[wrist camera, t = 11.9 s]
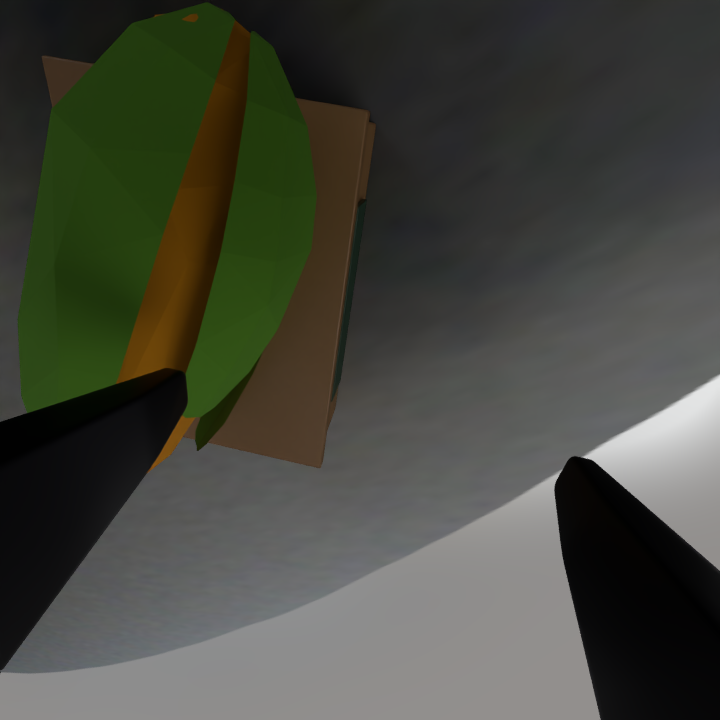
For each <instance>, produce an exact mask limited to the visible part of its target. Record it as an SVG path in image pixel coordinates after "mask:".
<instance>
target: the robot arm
mask: <svg viewBox="0 0 720 720" xmlns="http://www.w3.org/2000/svg"><path fill="white" fill-rule="evenodd" d="M187 404H188V392H187V381H186V375H185V373H184V372H183V371H181V370H176V369H172V368H164V369H161V370H158V371H154V372H151V373H148V374H145V375H142V376H139V377H136V378H133V379H130V380H127V381H124V382H121V383H118V384H115V385H112V386H109V387H106V388H103V389H99V390H96V391H93V392H90V393H87V394H84V395H81V396H78V397H75V398H72V399H69V400H66V401H63V402H60V403H57V404H54V405H51V406H48V407H44V408H41V409H38V410H35V411H32V412H29V413H26V414H23V415H20V416H17V417H14V418H11V419H8V420H5V421H2V422H0V670H2V669H3V668H4V667H5V666H6V664H7V663H8V662H9V660H10V659H11V658H12V656H13V655H14V654H15V652H16V651H17V649H18V648H19V647H20V645H21V644H22V643H23V641H24V640H25V639H26V637H27V636H28V634H29V633H30V632H31V630H32V629H33V628H34V626H35V625H36V624H37V622H38V621H39V619H40V618H41V617H42V615H43V614H44V613H45V611H46V610H47V609H48V607H49V606H50V604H51V603H52V602H53V600H54V599H55V598H56V596H57V595H58V594H59V592H60V591H61V589H62V588H63V587H64V585H65V584H66V583H67V581H68V580H69V579H70V577H71V576H72V574H73V573H74V572H75V570H76V569H77V568H78V566H79V565H80V564H81V562H82V561H83V560H84V558H85V557H86V555H87V554H88V553H89V551H90V550H91V549H92V547H93V546H94V545H95V543H96V542H97V540H98V539H99V538H100V536H101V535H102V534H103V532H104V531H105V530H106V528H107V527H108V525H109V524H110V523H111V521H112V520H113V519H114V517H115V516H116V515H117V513H118V512H119V510H120V509H121V508H122V506H123V505H124V504H125V502H126V501H127V500H128V498H129V497H130V495H131V494H132V493H133V491H134V490H135V489H136V487H137V486H138V485H139V483H140V482H141V480H142V479H143V478H144V476H145V475H146V474H147V472H148V471H149V470H150V468H151V467H152V465H153V464H154V462H155V461H156V459H157V458H158V456H159V454H160V453H161V451H162V449H163V448H164V446H165V444H166V442H167V441H168V439H169V437H170V435H171V434H172V432H173V430H174V429H175V427H176V425H177V423H178V422H179V420H180V418H181V416H182V415H183V413H184V411H185V409H186V407H187ZM554 491H555V499H556V509H557V516H558V525H559V533H560V541H561V549H562V556H563V560H564V565H565V570H566V574H567V578H568V582H569V587H570V591H571V595H572V600H573V604H574V608H575V612H576V616H577V621H578V625H579V629H580V634H581V638H582V641H583V646H584V650H585V655H586V659H587V663H588V667H589V672H590V676H591V680H592V684H593V689H594V693H595V697H596V701H597V706H598V709H599V714H600V718H601V720H720V571H719V570H718V569H717V568H716V567H715V566H713V565H712V564H711V563H710V562H709V561H708V560H707V559H705V558H704V557H703V556H702V555H701V554H700V553H699V552H697V551H696V550H695V549H694V548H693V547H692V546H691V545H689V544H688V543H687V542H686V541H685V540H684V539H683V538H681V537H680V536H679V535H678V534H677V533H675V532H674V531H673V530H672V529H671V528H670V527H669V526H667V525H666V524H665V523H664V522H663V521H662V520H660V519H659V518H658V517H657V516H656V515H655V514H654V513H653V512H651V511H650V510H649V509H648V508H647V507H646V506H645V505H643V504H642V503H641V502H640V501H639V500H638V499H637V498H635V497H634V496H633V495H632V494H631V493H630V492H628V491H627V490H626V489H625V488H624V487H623V486H622V485H620V484H619V483H618V482H617V481H616V480H615V479H614V478H612V477H611V476H610V475H609V474H608V473H607V472H606V471H604V470H603V469H602V468H601V467H600V466H599V465H598V464H596V463H595V462H594V461H592V460H590V459H586V458H581V457H577V456H574V457H571V458H570V459H569V460H568V461H567V463H566V465H565V467H564V468H563V470H562V472H561V473H560V475H559V477H558V479H557V481H556V484H555V490H554ZM0 673H1V672H0Z"/></svg>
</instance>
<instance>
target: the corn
mask: <svg viewBox="0 0 720 720" xmlns="http://www.w3.org/2000/svg"><path fill="white" fill-rule="evenodd" d="M316 198H317V193H316V186H315V178H314V171H313V163H312V156H311V148H310V141H309V133H308V126H307V124H306V122H305V119H304V117H303V115H302V113H301V110H300V108H299V106H298V103H297V101H296V99H295V96H294V94H293V90H292V88H291V86H290V84H289V82H288V80H287V78H286V75H285V73H284V71H283V68H282V66H281V64H280V61H279V59H278V57H277V54H276V52H275V50H274V47H273V46H272V45H270V44H269V43H268V42H267V41H266V40H264V39H263V38H262V37H261V36H260V35H258V34H257V33H256V32H255V31H253V30H252V32H251V34H250V33H249V32H248V31H247V30H246V29H245V28H244V27H242V26H241V25H240V24H239V23H238V22H237V21H236V20H235V18H233V16H232V15H231V14H230V13H228V12H226V11H224V10H223V9H220V8H218V7H216V6H214V5H212V4H210V3H208V2H206V3H203V4H199V5H196V6H192V7H188V8H185V9H181V10H178V11H174V12H170V13H167V14H158V15H155V16H154V17H152V18H149V19H145V20H142V21H138V22H135V23H132V24H131V25H130V26H129V27H128V28H127V29H126V30H125V31H124V32H123V33H122V34H121V36H120V37H119V38H118V39H117V40H116V41H115V42H114V43H113V44H112V45H111V46H110V47H109V48H108V49H107V51H106V52H105V53H104V54H103V55H102V56H101V57H100V58H99V59H98V60H97V61H96V62H95V63H94V64H93V65H92V67H91V68H90V69H89V70H88V71H87V72H86V73H85V74H84V75H83V76H82V77H81V78H80V79H79V80H78V81H77V83H76V84H75V85H74V86H73V87H72V88H71V89H70V90H69V91H68V92H67V93H66V94H65V95H64V96H63V97H62V99H61V100H60V101H59V102H58V103H57V104H56V105H55V106H54V107H53V108H52V109H51V115H50V121H49V127H48V133H47V140H46V146H45V152H44V159H43V165H42V171H41V177H40V184H39V190H38V196H37V202H36V209H35V215H34V221H33V227H32V234H31V240H30V246H29V253H28V259H27V265H26V271H25V278H24V284H23V290H22V296H21V303H20V309H19V315H18V336H19V357H20V377H21V396H22V399H23V402H24V405H25V408H26V411H27V413H29V412H32V411H35V410H38V409H41V408H44V407H48V406H51V405H54V404H57V403H60V402H63V401H66V400H69V399H72V398H75V397H78V396H81V395H84V394H87V393H90V392H93V391H96V390H99V389H103V388H106V387H109V386H112V385H115V384H118V383H121V382H124V381H127V380H130V379H133V378H136V377H139V376H142V375H145V374H148V373H151V372H154V371H158V370H161V369H164V368H172V369H176V370H181V371H183V372H184V373H185V375H186V381H187V392H188V404H187V407H186V409H185V411H184V413H183V415H182V416H181V418H180V420H179V422H178V423H177V425H176V427H175V429H174V430H173V432H172V434H171V435H170V437H169V439H168V441H167V442H166V444H165V446H164V448H163V449H162V451H161V453H160V454H159V456H158V458H157V459H156V461H155V462H154V464H153V465H152V467H151V468H150V470H152V469H153V468H154V467H155V466H157V465H158V464H159V463H160V462H162V461H163V460H164V459H166V458H167V457H168V456H169V455H171V454H172V452H173V451H174V449H175V448H176V446H177V445H178V443H179V442H180V440H181V439H182V437H183V436H184V434H185V433H186V431H187V430H188V428H189V427H190V425H191V424H192V422H193V421H194V419H195V418H196V417H200V420H199V423H198V425H197V428H196V431H195V442H196V445H197V451H199V450H200V449H201V448H202V447H203V446H205V445H206V444H207V443H208V442H209V440H210V439H211V438H212V437H213V436H214V435H215V434H216V432H217V431H218V430H219V429H220V428H221V427H222V426H223V425H224V423H225V422H226V420H227V418H228V417H229V415H230V413H231V411H232V410H233V408H234V406H235V404H236V403H237V401H238V399H239V397H240V396H241V394H242V392H243V390H244V389H245V387H246V385H247V383H248V382H249V380H250V378H251V376H252V375H253V373H254V371H255V368H256V366H257V364H258V362H259V359H260V357H261V355H262V353H263V351H264V349H265V348H266V346H267V345H268V343H269V342H270V340H271V339H272V337H273V336H274V334H275V333H276V331H277V330H278V328H279V325H280V323H281V321H282V318H283V316H284V313H285V311H286V309H287V306H288V304H289V301H290V299H291V297H292V294H293V292H294V289H295V287H296V285H297V282H298V280H299V277H300V275H301V273H302V270H303V268H304V266H305V263H306V261H307V258H308V256H309V254H310V251H311V248H312V238H313V228H314V218H315V208H316ZM150 470H149V471H150ZM149 471H148V472H149ZM148 472H147V473H148Z"/></svg>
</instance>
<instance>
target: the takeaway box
mask: <svg viewBox="0 0 720 720" xmlns="http://www.w3.org/2000/svg"><path fill="white" fill-rule="evenodd" d="M42 61H43V65H44V70H45V75H46V79H47V84H48V89H49V93H50V98H51V103H52V107H54V106H55V105H56V104H57V103H58V102H59V101H60V100H61V99H62V97H63V96H64V95H65V94H66V93H67V92H68V91H69V90H70V89H71V88H72V87H73V86H74V85H75V84H76V83H77V81H78V80H79V79H80V78H81V77H82V76H83V75H84V74H85V73H86V72H87V71H88V70H89V69H90V68H91V67H92V65H93V64H92V63H86V62H81V61H75V60H69V59H63V58H57V57H51V56H45V55H43V56H42ZM295 99H296V101H297V103H298V106H299V108H300V110H301V113H302V115H303V117H304V119H305V122H306V124H307V126H308V133H309V141H310V148H311V156H312V163H313V171H314V178H315V186H316V193H317V198H316V208H315V218H314V228H313V238H312V248H311V251H310V254H309V256H308V258H307V261H306V263H305V266H304V268H303V270H302V273H301V275H300V277H299V280H298V282H297V285H296V287H295V289H294V292H293V294H292V297H291V299H290V301H289V304H288V306H287V309H286V311H285V313H284V316H283V318H282V321H281V323H280V325H279V328H278V330H277V331H276V333H275V334H274V336H273V337H272V339H271V340H270V342H269V343H268V345H267V346H266V348H265V349H264V351H263V353H262V355H261V357H260V359H259V362H258V364H257V366H256V368H255V371H254V373H253V375H252V376H251V378H250V380H249V382H248V383H247V385H246V387H245V389H244V390H243V392H242V394H241V396H240V397H239V399H238V401H237V403H236V404H235V406H234V408H233V410H232V411H231V413H230V415H229V417H228V418H227V420H226V422H225V423H224V425H223V426H222V427H221V428H220V429H219V430H218V431H217V432H216V434H215V435H214V436H213V437H212V438H211V439H210V440H209V442H208V443H212V444H216V445H221V446H225V447H229V448H234V449H238V450H242V451H247V452H251V453H255V454H260V455H264V456H268V457H273V458H277V459H282V460H286V461H290V462H295V463H299V464H303V465H308V466H312V467H316V468H321V465H322V462H323V457H324V450H325V442H326V435H327V430H328V427H329V424H330V421H331V419H332V416H333V413H334V410H335V406H336V399H337V392H338V385H339V383H340V379H341V373H342V366H343V359H344V352H345V345H346V338H347V331H348V325H349V318H350V311H351V304H352V297H353V290H354V284H355V277H356V270H357V263H358V256H359V249H360V242H361V236H362V229H363V222H364V215H365V208H366V201H367V200H366V199H365V198H366V191H367V184H368V177H369V170H370V163H371V156H372V149H373V142H374V135H375V128H376V124H375V123H372V122H369V118H370V111H368V110H365V109H359V108H353V107H347V106H341V105H335V104H329V103H323V102H317V101H311V100H305V99H300V98H295ZM199 420H200V417H196V418H195V419H194V421H193V422H192V424H191V425H190V427H189V428H188V430H187V431H186V433H185V434H184V436H183V437H186V438H190V439H194V440H195V431H196V428H197V425H198V423H199Z"/></svg>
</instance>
